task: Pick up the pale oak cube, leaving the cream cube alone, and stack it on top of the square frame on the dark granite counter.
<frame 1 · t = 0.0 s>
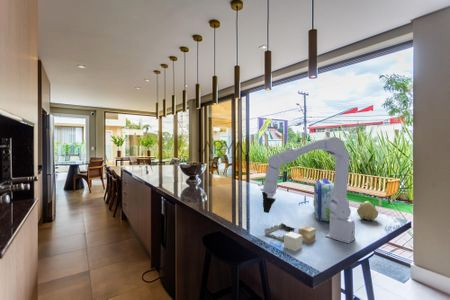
hand: (265, 210, 103), 11 cm above the kitchen island, tool pointing down, fingers open, 7 cm apart
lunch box: (323, 217, 128), on the kitchen island
oak cube: (306, 239, 96), on the kitchen island
tan lumpy ball: (367, 220, 124), on the kitchen island
cream cube: (292, 247, 89), on the kitchen island
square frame: (281, 235, 103), on the kitchen island
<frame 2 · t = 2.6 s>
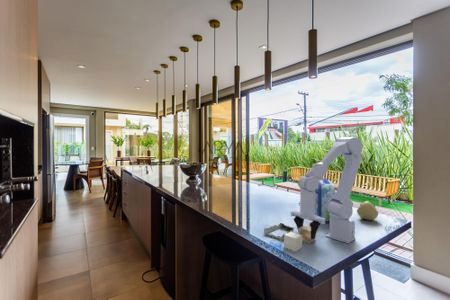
hand: (306, 236, 96), 1 cm above the kitchen island, tool pointing down, fingers closed on oak cube, 5 cm apart
oak cube: (306, 239, 96), on the kitchen island, touching gripper
when the fingers open (6 cm above the kitchen island, at t = 6.1 s): oak cube drops 2 cm, point 2 cm above the kitchen island.
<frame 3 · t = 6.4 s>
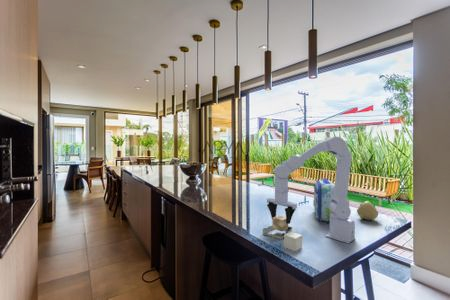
hand: (280, 221, 102), 6 cm above the kitchen island, tool pointing down, fingers open, 7 cm apart
oak cube: (280, 228, 103), point 2 cm above the kitchen island
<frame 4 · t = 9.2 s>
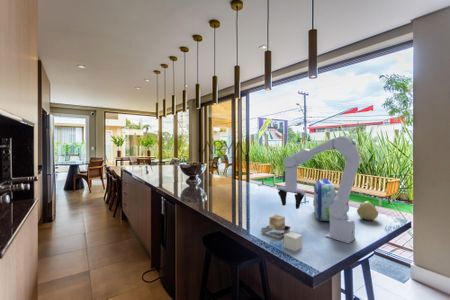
hand: (290, 206, 113), 9 cm above the kitchen island, tool pointing down, fingers open, 7 cm apart
oak cube: (277, 227, 104), point 2 cm above the kitchen island, touching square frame
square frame: (277, 234, 104), on the kitchen island, touching oak cube
everything else where it was.
at the end: oak cube inside the target area on the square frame (0.6 cm from its centre), point 3.0 cm above the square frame's base; oak cube tilted 1°; the gripper is holding nothing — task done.
